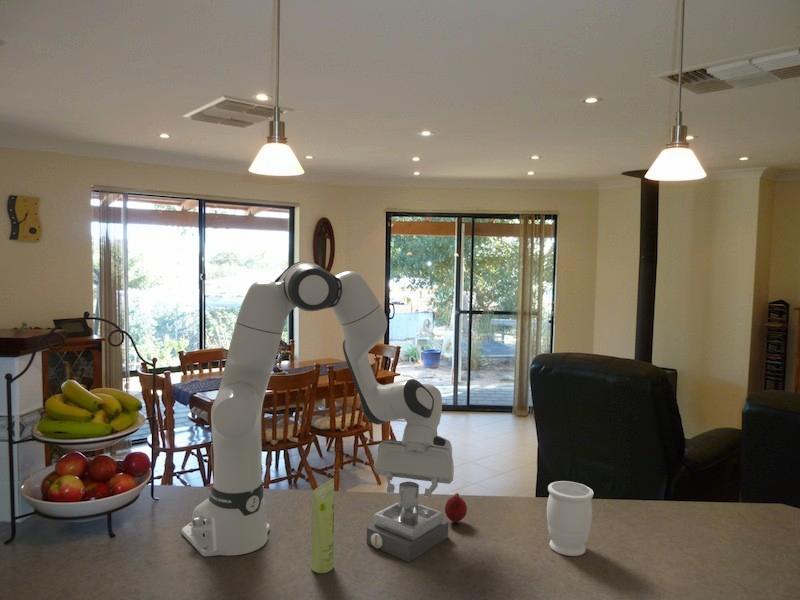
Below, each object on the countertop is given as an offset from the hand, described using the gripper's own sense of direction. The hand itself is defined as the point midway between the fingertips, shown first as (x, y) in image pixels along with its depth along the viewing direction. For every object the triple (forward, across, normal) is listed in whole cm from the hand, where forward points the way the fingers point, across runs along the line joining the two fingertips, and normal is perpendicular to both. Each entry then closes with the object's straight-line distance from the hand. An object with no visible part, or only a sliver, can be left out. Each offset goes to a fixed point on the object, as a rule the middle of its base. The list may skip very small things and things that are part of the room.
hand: (408, 494), depth 143 cm
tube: (+21, -15, -4) cm, 26 cm away
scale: (+8, 0, +9) cm, 12 cm away
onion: (-1, +10, +18) cm, 21 cm away
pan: (+5, 0, +6) cm, 8 cm away
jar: (+2, +38, +15) cm, 41 cm away
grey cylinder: (+4, 0, +5) cm, 7 cm away
